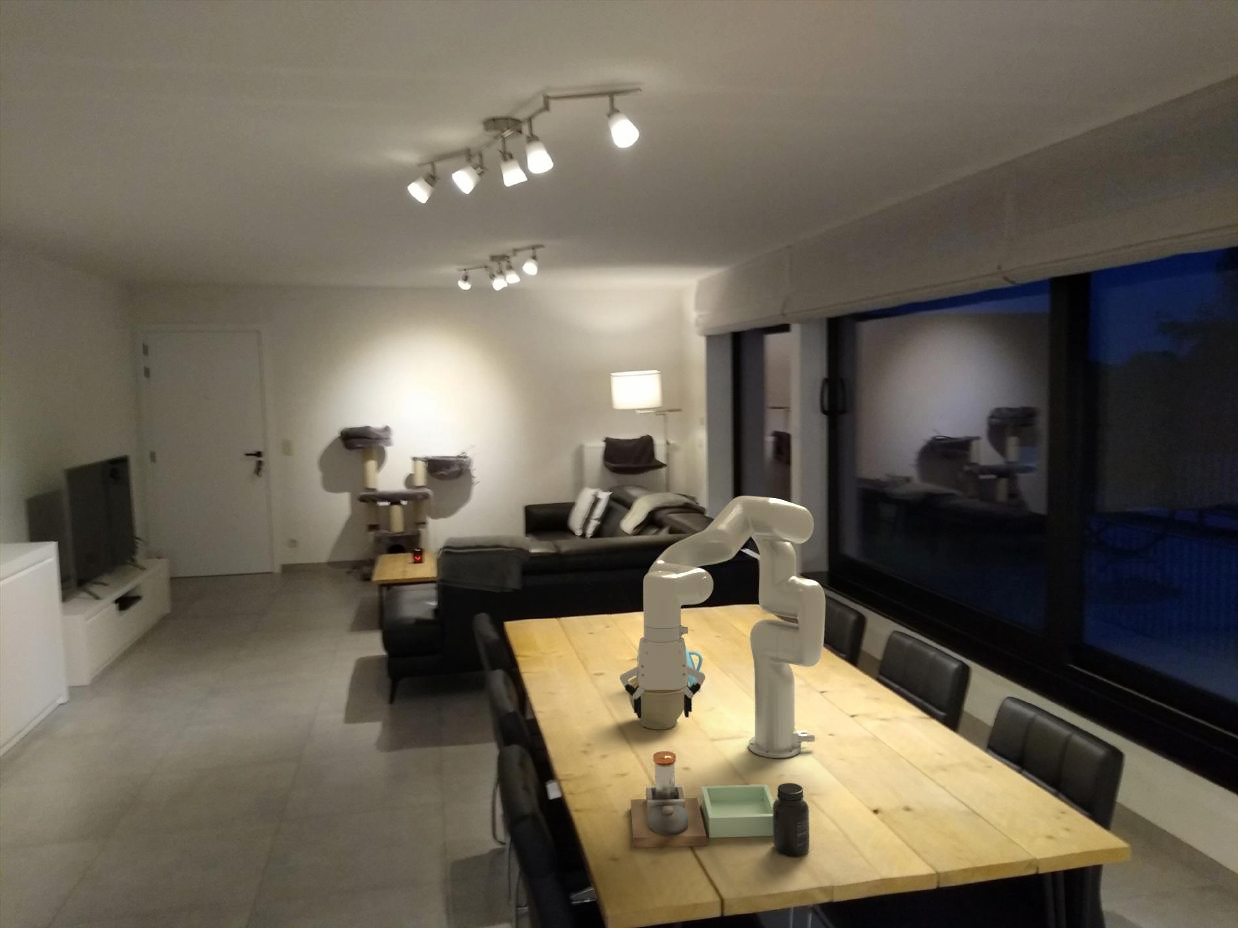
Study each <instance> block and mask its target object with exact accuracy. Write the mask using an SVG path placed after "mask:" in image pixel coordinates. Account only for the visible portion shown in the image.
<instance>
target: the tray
mask: <svg viewBox="0 0 1238 928" xmlns="http://www.w3.org/2000/svg"><path fill="white" fill-rule="evenodd" d="M700 792H701V793H700V794H701V796H700V797H701V803H700V804H701V808H702V812H703V816H704V820H705V825H706V828H707V833H708V836H709V837H708V838H710V839H711V838H739V837H740V838H742V837H773V803H774V801H775V799H774V797H773V795H772V792H771V789H770V788H769V785H768V784H767V783H763V784H729V785H726V784H725V785H724V784H723V785H702V786H701V790H700Z"/></svg>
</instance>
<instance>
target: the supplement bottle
mask: <svg viewBox="0 0 1238 928" xmlns="http://www.w3.org/2000/svg"><path fill="white" fill-rule="evenodd" d="M804 795H805V794H804V788H803V787H802V785H800V784H797V783H795V782H785V783H781V784H779V785H778V786H777V795H776V796H777V797H776V799H774V803H773V836H772V839H773V841H772V843H773V848H774V850H775V851H776V852H777V853H778V854H780V855H782V856H785V857H792V858H795V857H796V858H797V857H801V856H805V855H806V854H807V853H808V852H809V851H810V810H809V809H810V808H809V805H808V803H807V802H806V800H805V799H804V798H805V797H804Z"/></svg>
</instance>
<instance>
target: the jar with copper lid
mask: <svg viewBox="0 0 1238 928" xmlns="http://www.w3.org/2000/svg"><path fill="white" fill-rule="evenodd" d="M652 757H653V762H654V783H655V785H654V786H655V800H668V799H675V785H676V783H675V782H676V780H675V779H676V778H675V776H676V775H675V774H676V773H675V772H676V771H675V763H676V762H677V756H676V754H675V753H674V752H673V751H666V750H665V751H664V750H660V751H657V752H655V753H653V754H652Z"/></svg>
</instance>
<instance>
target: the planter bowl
mask: <svg viewBox="0 0 1238 928" xmlns="http://www.w3.org/2000/svg"><path fill="white" fill-rule="evenodd" d="M628 681H629V683H630V684H631V685H632V686H633V687H634V688H635V687H636V686H637V685H638V680H637V677H636V676H634V677H632V678H630V679H629V680H628ZM687 685H688V686H689V682H688V684H687ZM684 695H685V693H684V692H683V691H682V690H681V689H677V690H644V692H643V693H642V694H641V718H638V719H639V721H640V725H641V726H643V727H644V728H647V729H650V730H669V729H671V728H673V727H675V726H676V725H677V724H678V719H679V718H680V717H681V715H682V714H683V713H684ZM628 697H629V702H630V706H631V707H632V710H633V711H634V698H633V697H632V696H631V695H630V694H629V693H628ZM635 715H636V716H637V713H635Z"/></svg>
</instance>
